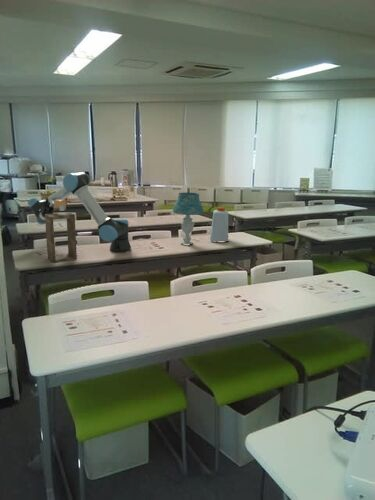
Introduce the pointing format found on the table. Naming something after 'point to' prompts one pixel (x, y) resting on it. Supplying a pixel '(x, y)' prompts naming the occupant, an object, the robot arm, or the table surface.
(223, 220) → the plastic bottle
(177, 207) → the table lamp
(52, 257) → the stand
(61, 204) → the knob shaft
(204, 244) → the table surface
